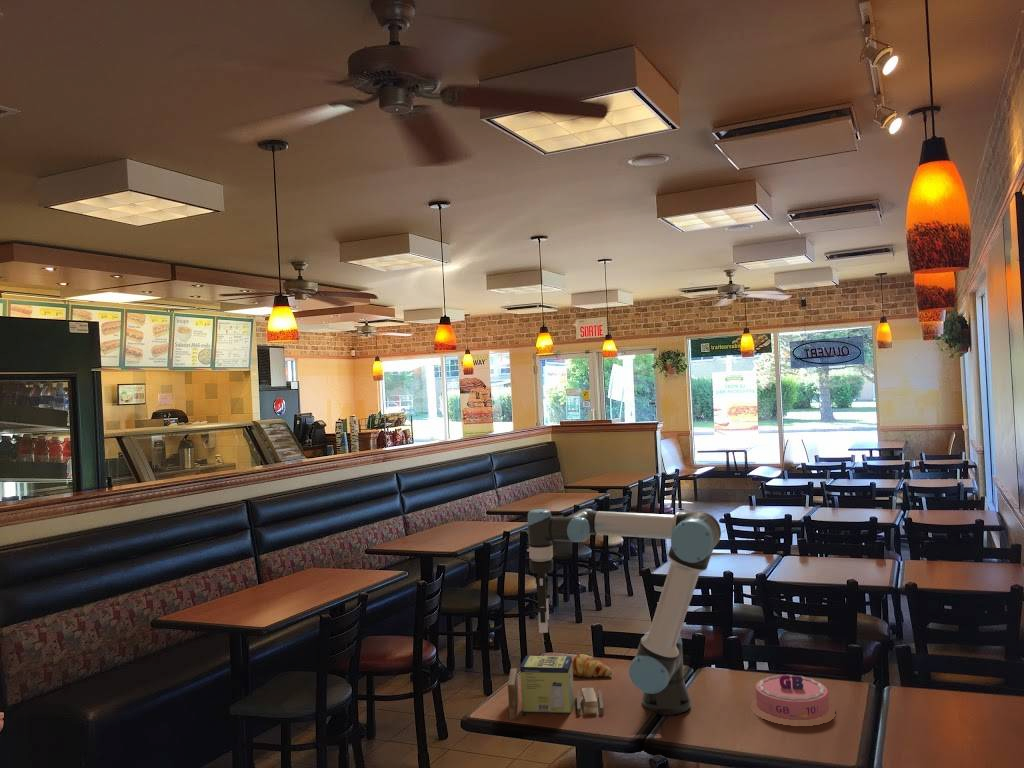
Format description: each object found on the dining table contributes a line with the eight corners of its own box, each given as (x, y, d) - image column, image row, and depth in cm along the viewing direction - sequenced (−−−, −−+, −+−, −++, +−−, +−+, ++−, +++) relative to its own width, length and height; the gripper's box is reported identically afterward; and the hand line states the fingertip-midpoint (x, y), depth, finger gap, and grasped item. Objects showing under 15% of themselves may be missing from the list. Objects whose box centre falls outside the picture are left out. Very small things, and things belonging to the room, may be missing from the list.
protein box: (527, 702, 258) (525, 655, 258) (575, 704, 255) (572, 655, 255) (521, 716, 248) (519, 666, 248) (571, 717, 245) (568, 667, 245)
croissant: (615, 684, 279) (618, 660, 282) (605, 680, 271) (609, 655, 274) (561, 675, 289) (564, 652, 292) (549, 670, 281) (553, 647, 284)
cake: (750, 725, 234) (748, 688, 234) (749, 692, 258) (747, 659, 258) (841, 730, 227) (839, 693, 227) (831, 696, 251) (829, 662, 251)
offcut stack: (596, 697, 257) (595, 686, 257) (597, 713, 245) (597, 701, 245) (582, 698, 257) (581, 687, 257) (583, 713, 245) (582, 701, 245)
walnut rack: (601, 699, 257) (599, 665, 257) (603, 717, 243) (601, 681, 243) (512, 702, 259) (510, 668, 259) (509, 720, 245) (507, 684, 245)
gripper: (531, 550, 265) (534, 614, 265) (527, 568, 240) (530, 638, 240) (553, 550, 264) (556, 613, 264) (552, 567, 239) (555, 638, 239)
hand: (544, 625), depth 252 cm, fingers open, 13 cm apart
